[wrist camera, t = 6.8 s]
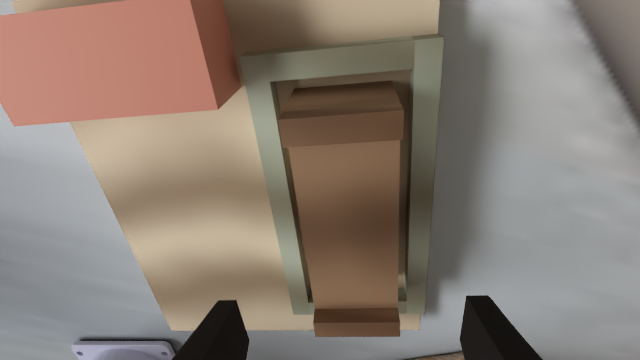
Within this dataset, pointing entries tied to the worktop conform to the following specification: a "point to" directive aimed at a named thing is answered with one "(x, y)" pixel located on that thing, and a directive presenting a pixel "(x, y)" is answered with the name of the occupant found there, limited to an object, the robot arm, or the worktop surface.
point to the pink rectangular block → (116, 61)
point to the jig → (266, 159)
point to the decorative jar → (444, 357)
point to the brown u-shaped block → (348, 202)
